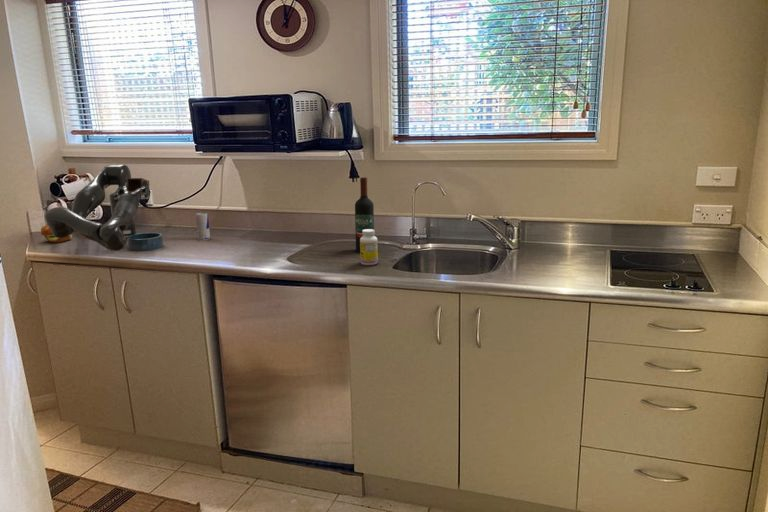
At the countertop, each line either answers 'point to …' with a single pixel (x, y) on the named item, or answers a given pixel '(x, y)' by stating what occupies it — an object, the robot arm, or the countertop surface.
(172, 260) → the countertop surface
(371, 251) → the supplement bottle
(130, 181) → the brown block
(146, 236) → the bowl
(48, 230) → the cheeseburger
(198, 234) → the energy drink
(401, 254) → the countertop surface
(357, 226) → the wine bottle
